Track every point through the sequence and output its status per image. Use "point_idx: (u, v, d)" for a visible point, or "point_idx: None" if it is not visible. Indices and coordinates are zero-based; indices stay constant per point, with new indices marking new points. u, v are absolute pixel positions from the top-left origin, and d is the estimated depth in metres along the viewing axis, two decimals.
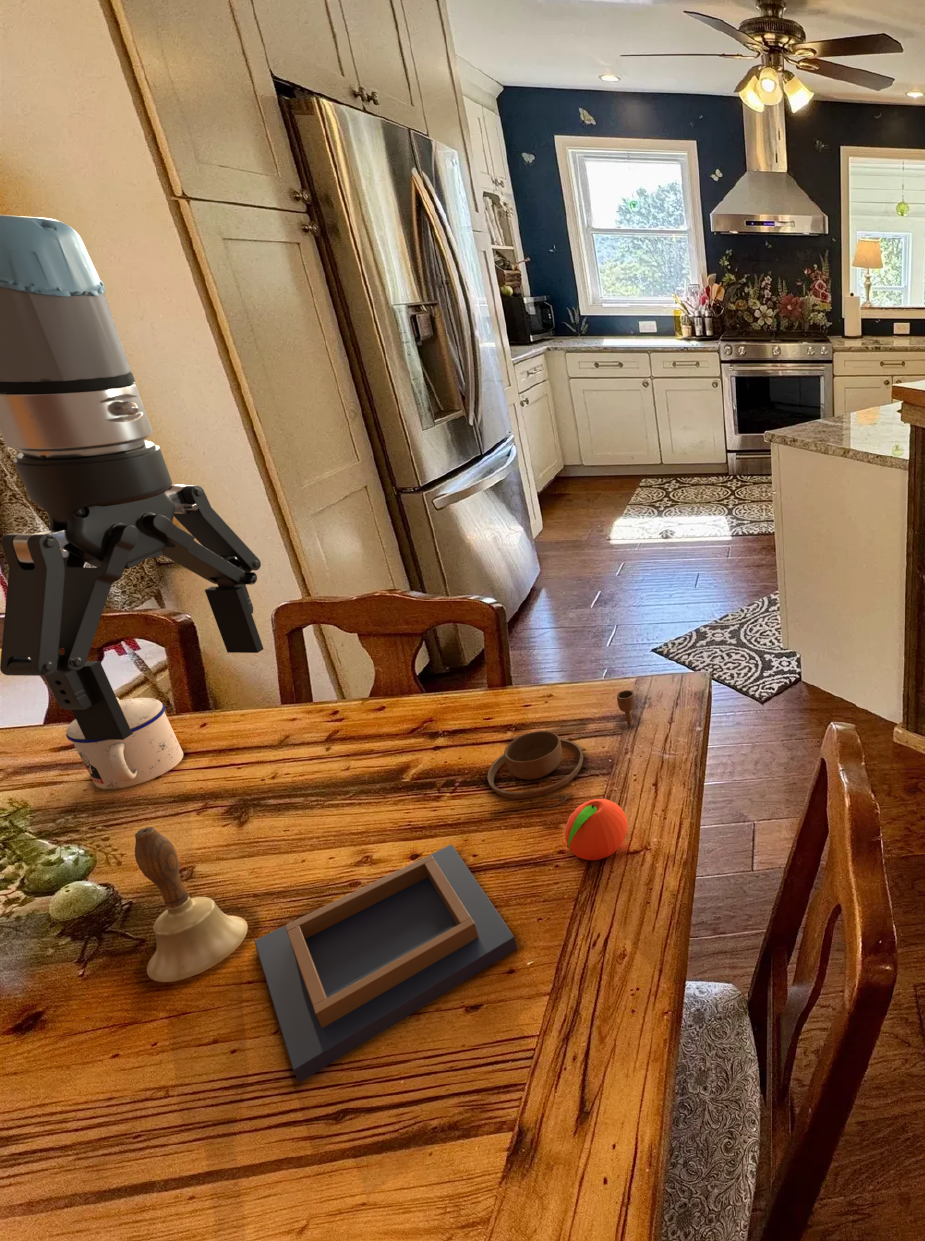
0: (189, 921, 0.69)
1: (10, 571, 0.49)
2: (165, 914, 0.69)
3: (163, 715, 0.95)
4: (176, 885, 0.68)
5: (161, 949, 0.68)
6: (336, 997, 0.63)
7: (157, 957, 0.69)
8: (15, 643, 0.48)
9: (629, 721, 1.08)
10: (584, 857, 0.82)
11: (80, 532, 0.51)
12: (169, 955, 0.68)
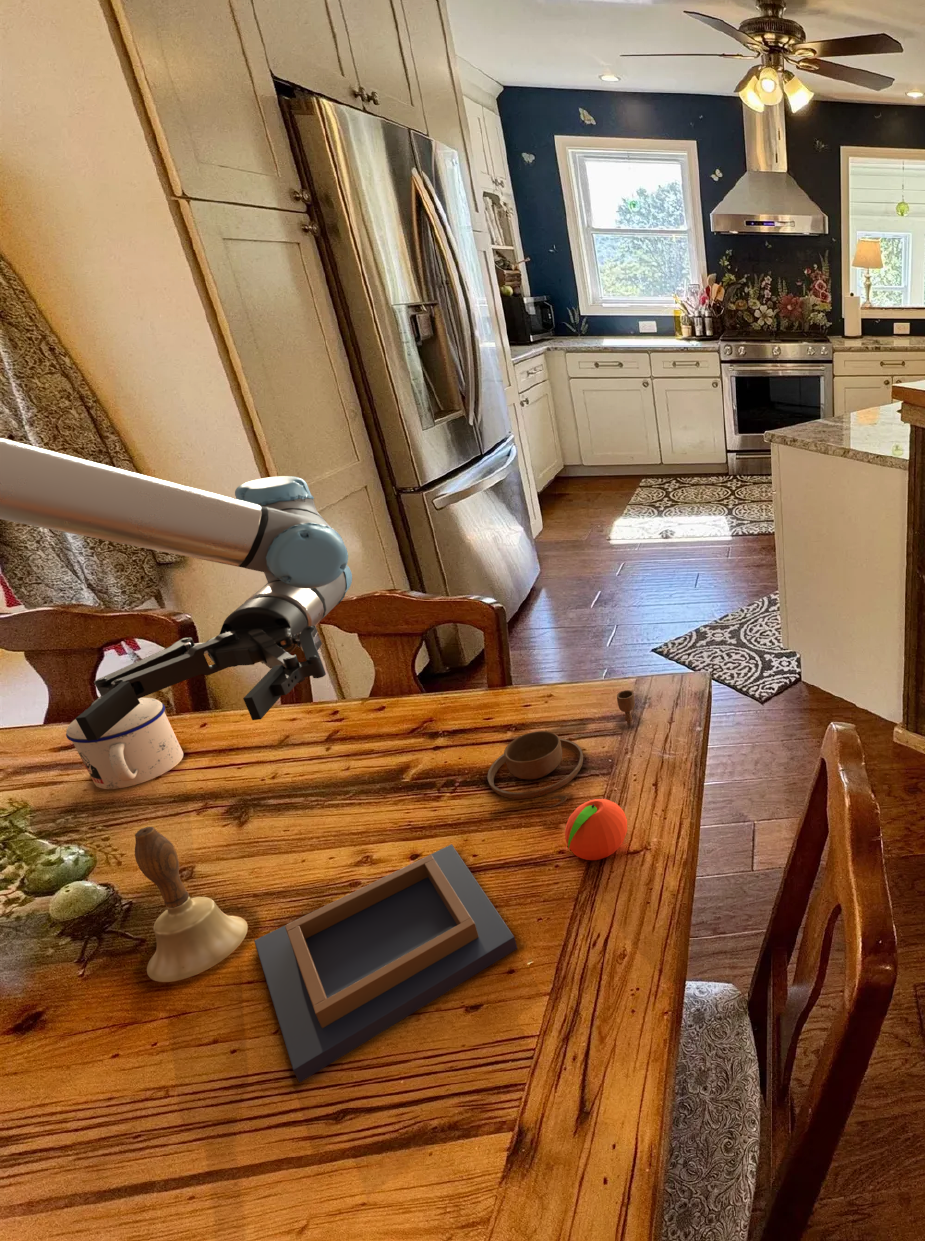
0: (189, 921, 0.69)
1: (312, 635, 0.84)
2: (165, 914, 0.69)
3: (163, 715, 0.95)
4: (176, 885, 0.68)
5: (161, 949, 0.68)
6: (336, 997, 0.63)
7: (157, 957, 0.69)
8: None
9: (629, 721, 1.08)
10: (584, 857, 0.82)
11: None
12: (169, 955, 0.68)
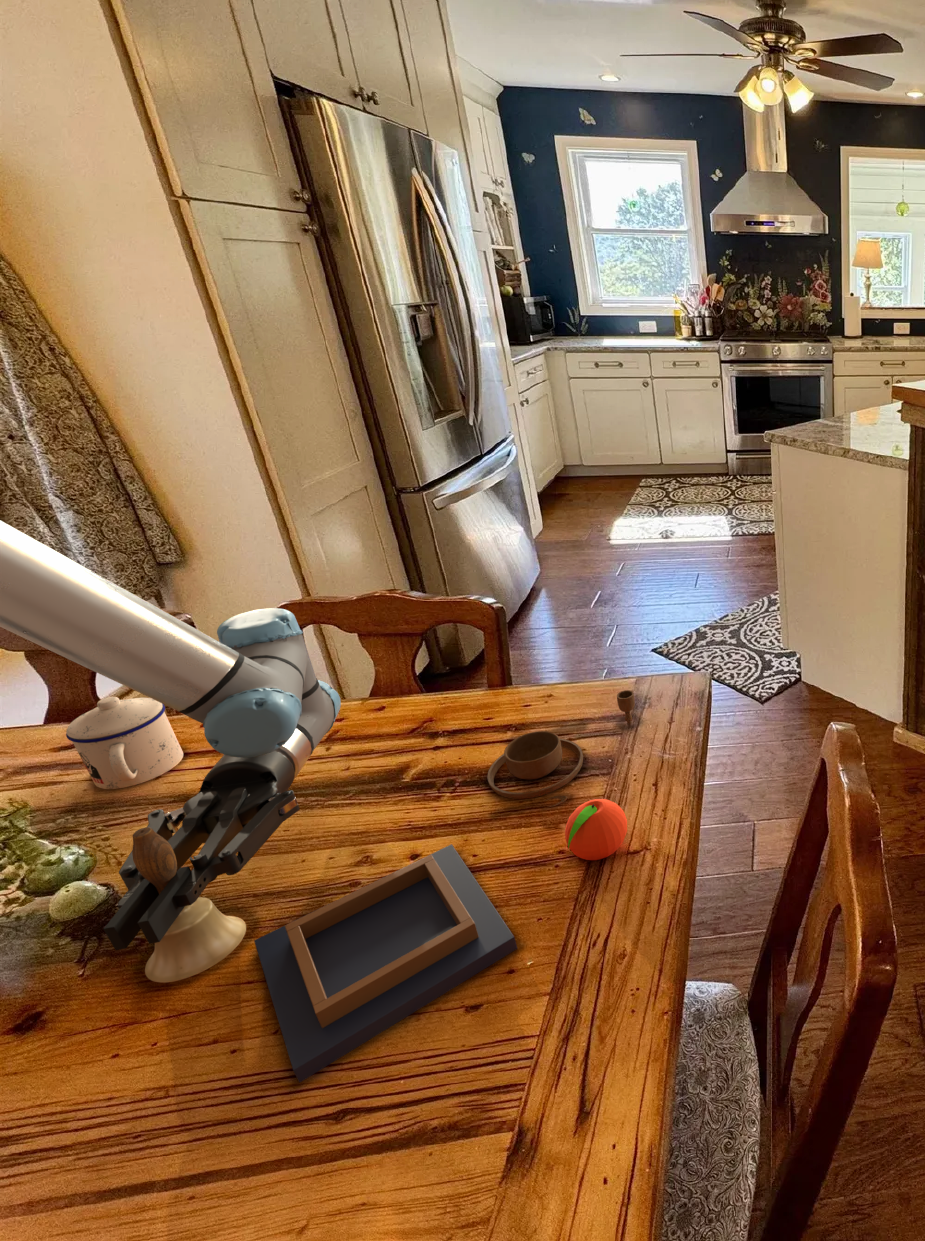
0: (187, 921, 0.69)
1: (275, 807, 0.77)
2: None
3: (163, 715, 0.95)
4: None
5: (159, 949, 0.68)
6: (336, 997, 0.63)
7: (155, 957, 0.69)
8: (246, 846, 0.73)
9: (629, 721, 1.08)
10: (584, 857, 0.82)
11: None
12: (167, 955, 0.68)
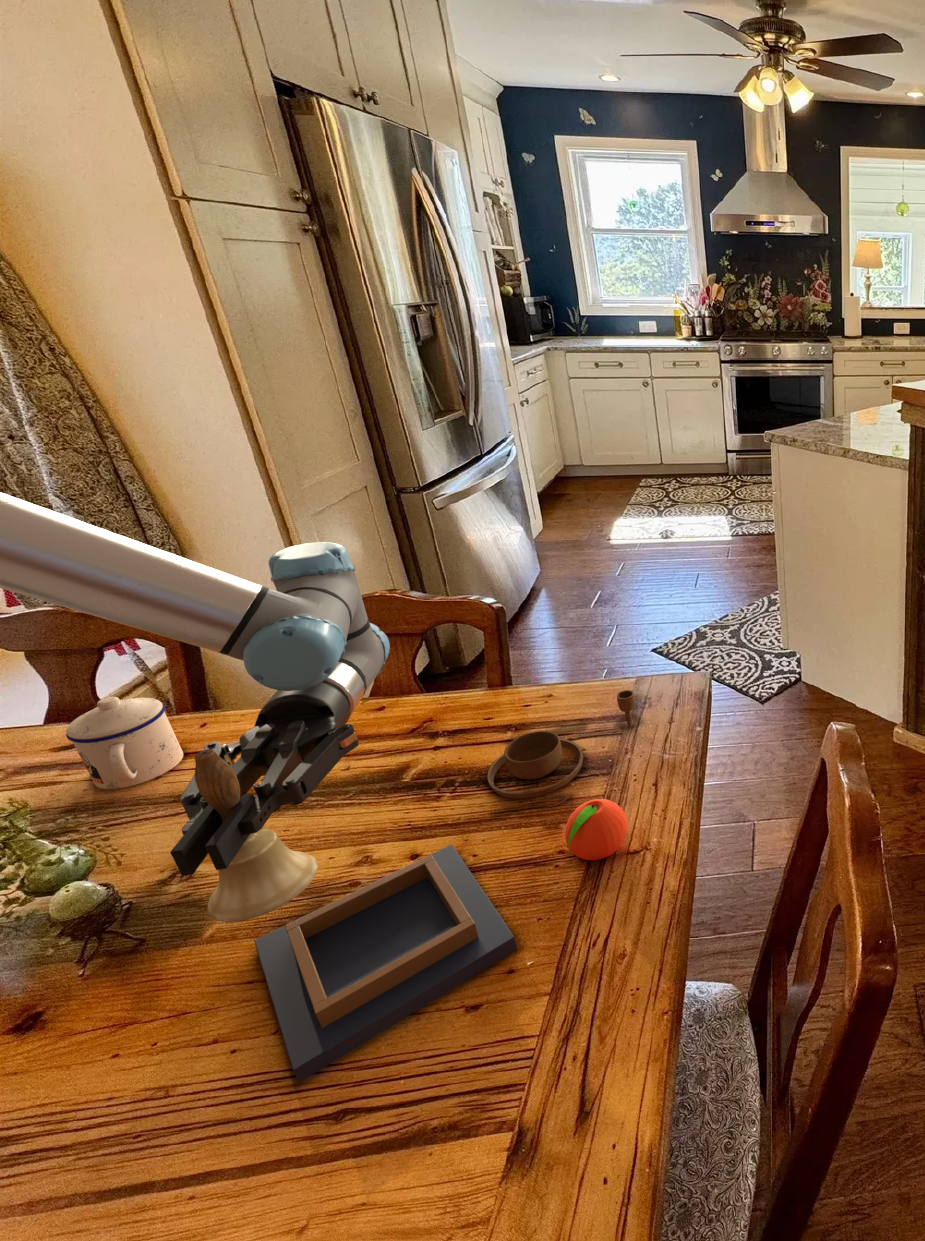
0: (252, 851, 0.65)
1: (336, 740, 0.73)
2: None
3: (163, 715, 0.95)
4: None
5: (224, 880, 0.65)
6: (336, 997, 0.63)
7: (220, 889, 0.65)
8: (309, 776, 0.69)
9: (629, 721, 1.08)
10: (584, 857, 0.82)
11: None
12: (232, 886, 0.65)
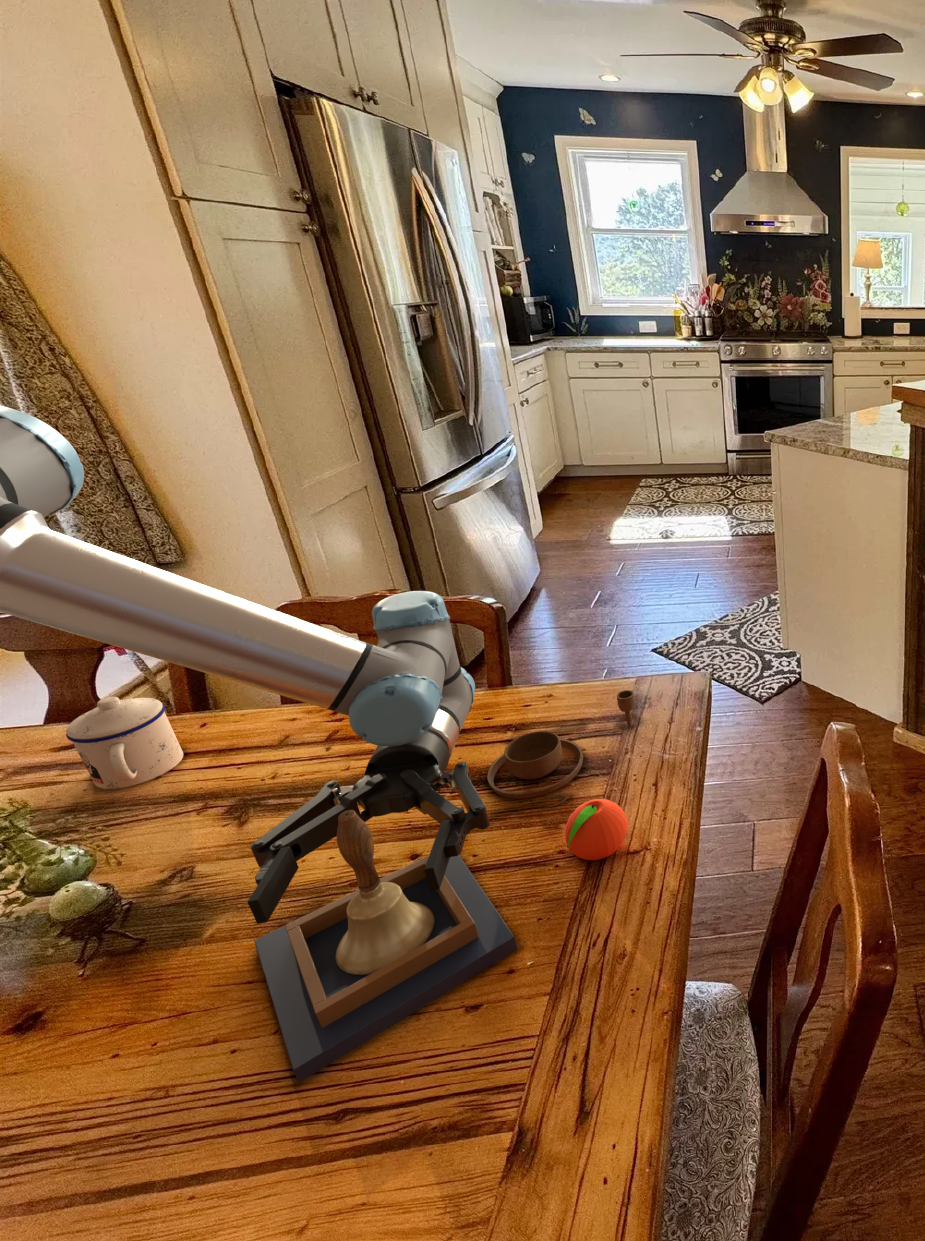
0: (382, 906, 0.68)
1: (466, 775, 0.78)
2: (357, 899, 0.68)
3: (163, 715, 0.95)
4: (371, 870, 0.67)
5: (355, 934, 0.67)
6: (336, 997, 0.63)
7: (350, 942, 0.68)
8: None
9: (629, 721, 1.08)
10: (584, 857, 0.82)
11: None
12: (363, 940, 0.67)
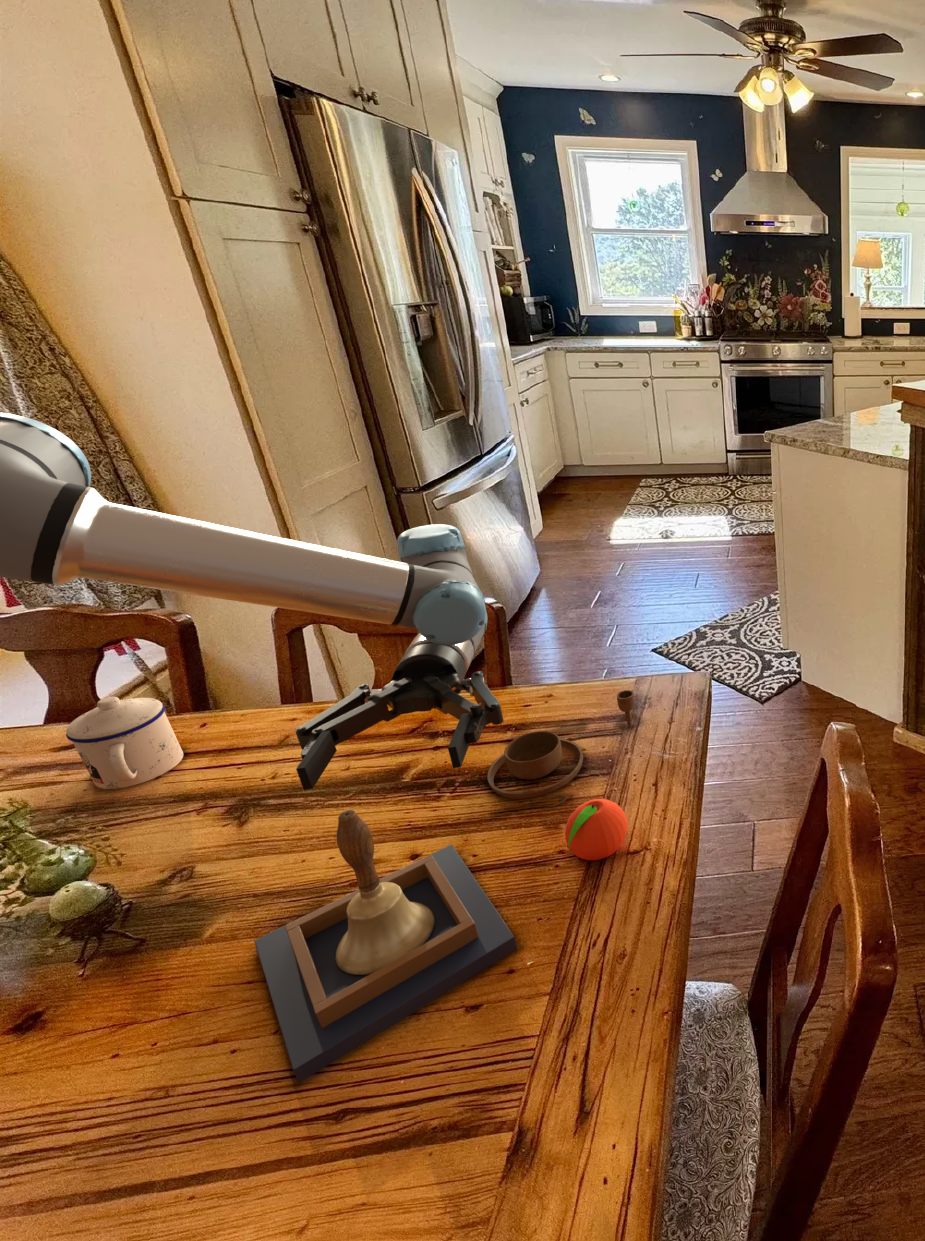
0: (382, 906, 0.68)
1: (482, 681, 0.88)
2: (357, 899, 0.68)
3: (163, 715, 0.95)
4: (371, 870, 0.67)
5: (355, 934, 0.67)
6: (336, 997, 0.63)
7: (350, 942, 0.68)
8: None
9: (629, 721, 1.08)
10: (584, 857, 0.82)
11: None
12: (363, 940, 0.67)
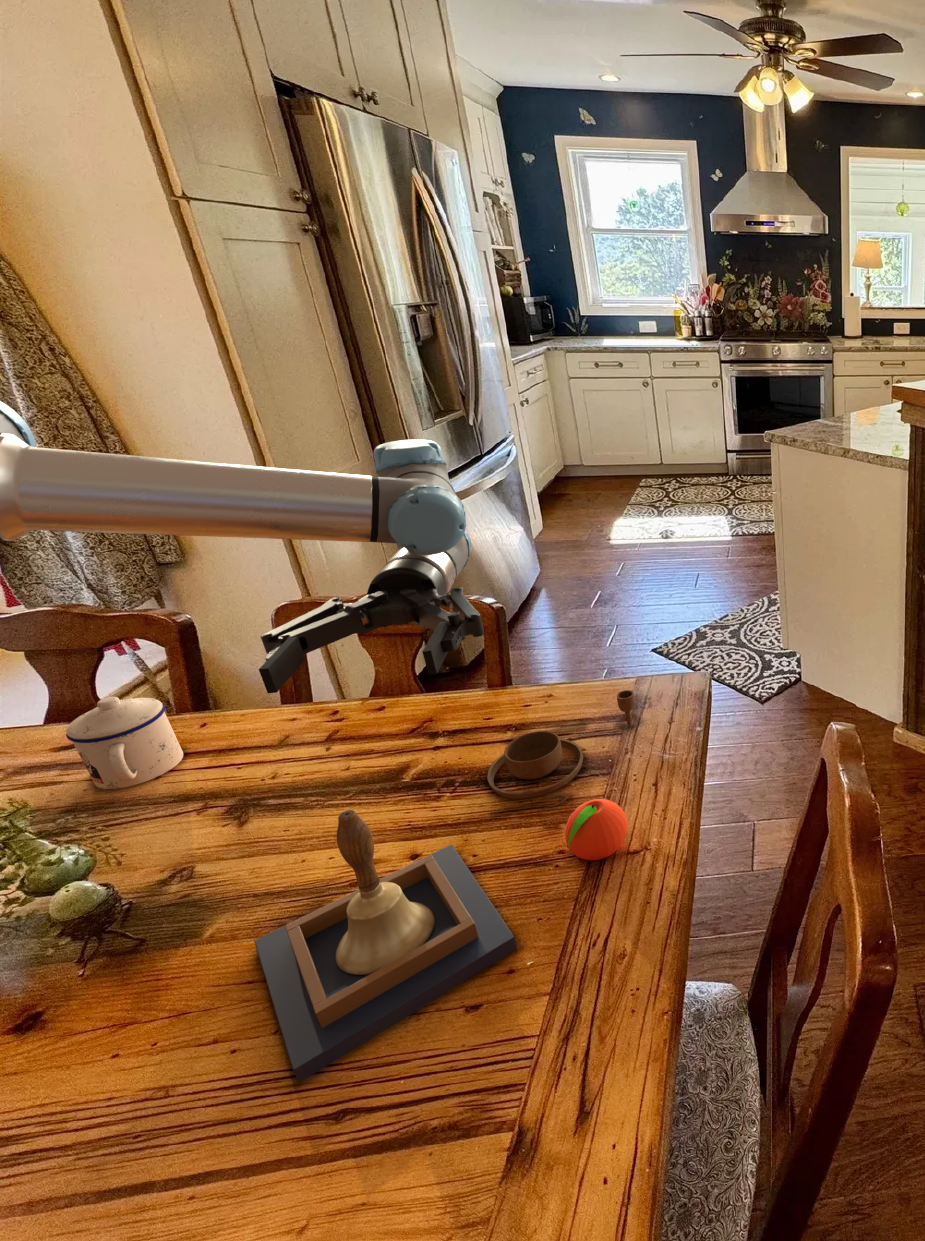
0: (382, 906, 0.68)
1: (462, 595, 0.83)
2: (357, 899, 0.68)
3: (163, 715, 0.95)
4: (371, 870, 0.67)
5: (355, 934, 0.67)
6: (336, 997, 0.63)
7: (350, 942, 0.68)
8: None
9: (629, 721, 1.08)
10: (584, 857, 0.82)
11: None
12: (363, 940, 0.67)
